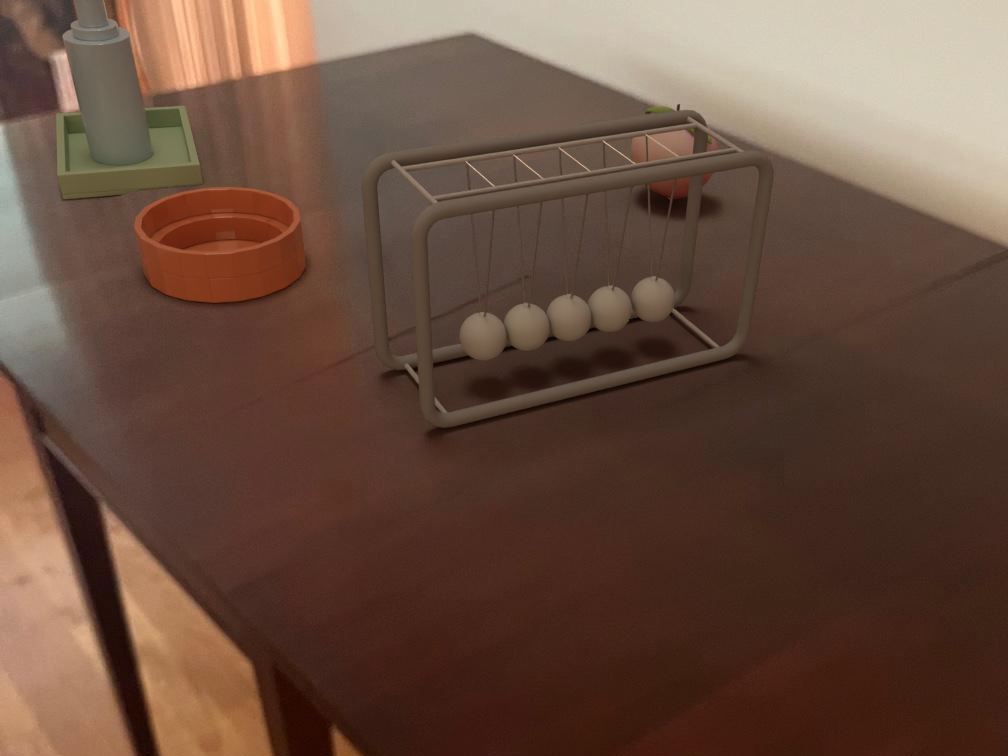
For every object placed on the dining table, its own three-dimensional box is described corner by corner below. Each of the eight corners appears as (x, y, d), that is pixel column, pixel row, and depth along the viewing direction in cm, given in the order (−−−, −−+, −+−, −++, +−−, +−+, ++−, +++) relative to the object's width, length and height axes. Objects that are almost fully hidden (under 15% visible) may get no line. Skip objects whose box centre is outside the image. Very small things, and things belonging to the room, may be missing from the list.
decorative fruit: (609, 200, 124) (615, 103, 117) (654, 178, 129) (662, 84, 122) (682, 226, 120) (692, 127, 113) (725, 202, 125) (737, 106, 118)
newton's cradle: (684, 303, 107) (706, 104, 95) (748, 356, 100) (780, 149, 89) (375, 371, 95) (356, 154, 84) (424, 436, 89) (412, 210, 77)
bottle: (112, 170, 122) (73, -2, 111) (78, 153, 125) (37, -17, 114) (165, 154, 125) (133, -14, 114) (131, 138, 128) (96, -27, 117)
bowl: (208, 324, 100) (198, 269, 96) (114, 269, 106) (102, 216, 103) (338, 272, 108) (332, 220, 105) (243, 224, 115) (235, 174, 111)
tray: (204, 188, 121) (199, 164, 119) (63, 199, 117) (57, 175, 115) (189, 127, 133) (185, 105, 131) (61, 136, 129) (55, 113, 127)
